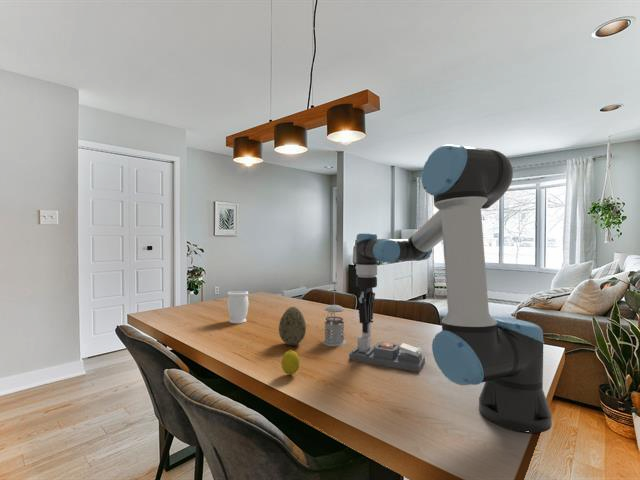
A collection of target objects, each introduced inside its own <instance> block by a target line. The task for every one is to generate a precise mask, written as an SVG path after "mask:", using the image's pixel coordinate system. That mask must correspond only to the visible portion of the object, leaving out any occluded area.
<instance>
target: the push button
mask: <svg viewBox="0 0 640 480" xmlns="http://www.w3.org/2000/svg"><path fill="white" fill-rule="evenodd" d="M390 343H391V342H386V343H381V344H380V348H385V349H391V350H392V349H393V344H394V343H393V344H390Z"/></svg>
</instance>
